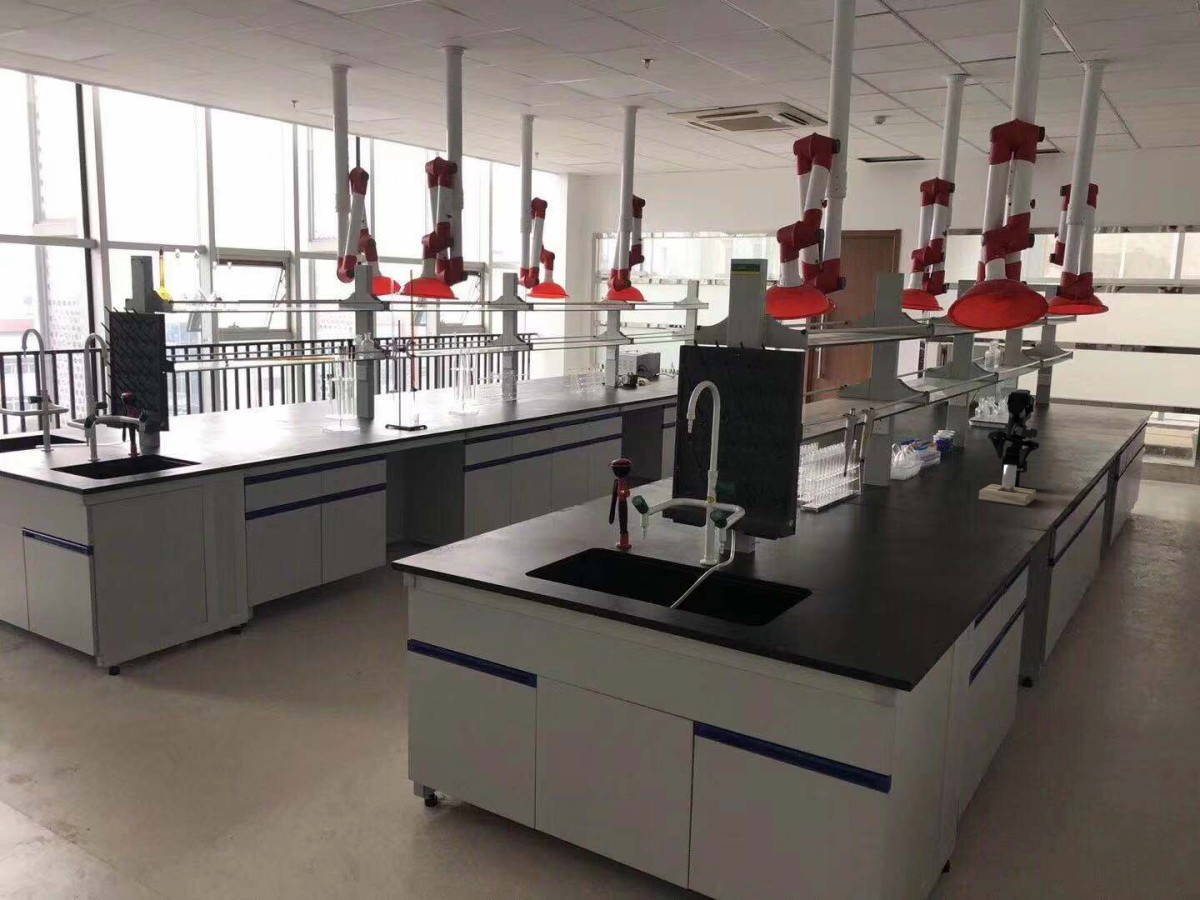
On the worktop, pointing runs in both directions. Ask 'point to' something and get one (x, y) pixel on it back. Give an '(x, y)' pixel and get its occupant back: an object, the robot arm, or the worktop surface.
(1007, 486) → the steel roller
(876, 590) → the worktop surface
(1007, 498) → the socket block
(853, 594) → the worktop surface
